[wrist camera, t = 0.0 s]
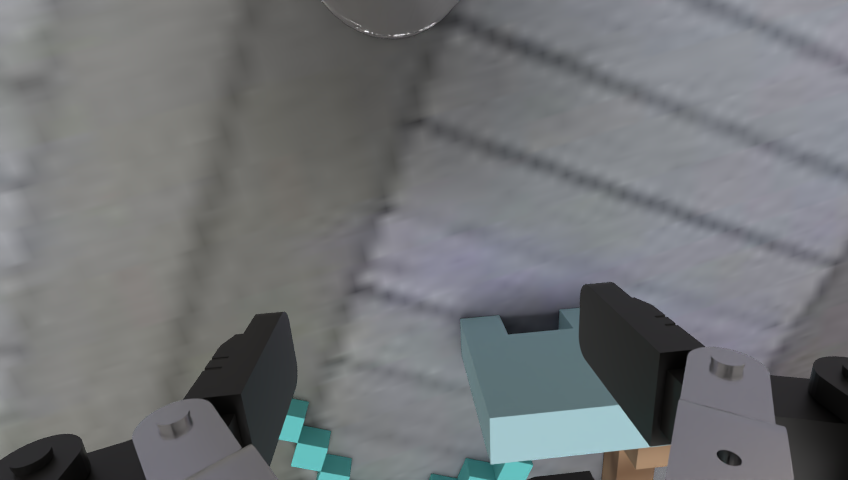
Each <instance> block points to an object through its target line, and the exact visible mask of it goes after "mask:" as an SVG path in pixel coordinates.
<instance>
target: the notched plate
mask: <svg viewBox="0 0 848 480" xmlns="http://www.w3.org/2000/svg"><path fill="white" fill-rule="evenodd" d="M579 315H580V308H571V309H560V310H559V330H551V331H540V332H530V333H519V334H509V335H508V333H507V331H506V329H505V327H504V325H503V323H502V320H501V318H500V316H499V315H496V316H485V317H474V318H464V319H460V328H461V352H462V358H463V362H464V366H465V370H466V373H467V377H468V381H469V385H470V388H471V392H472V396H473V400H474V404H475V407H476V411H477V415H478V419H479V423H480V426H481V430H482V434H483V438H484V441H485V445H486V449H487V453H488V457H489V460H490V464H500V463H509V462H519V461H528V460H537V459H546V458H555V457H565V456H574V455H583V454H592V453H601V452H611V451H620V450H629V449H638V448H647V447H650V446H649V445H648V443H647V442H646V441H645V439H644V438H643V437H642V435H641V434H640V433H639V431H638V430H637V429H636V427H635V426H634V425H633V423H632V422H631V421H630V419H629V418H628V417H627V415H626V414H625V413H624V411H623V410H622V409H621V407H620V406H619V405H618V403H617V402H616V400H615V399H614V398H613V396H612V395H611V394H610V392H609V391H608V390H607V388H606V387H605V386H604V384H603V383H602V382H601V380H600V379H599V378H598V376H597V375H596V374H595V372H594V371H593V370H592V368H591V367H590V366H589V364H588V363H587V362H586V360H585V359H584V357H583V355H582V352H581V349H580V345H579ZM662 446H666V445H662ZM653 447H657V446H653Z"/></svg>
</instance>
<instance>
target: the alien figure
mask: <svg viewBox="0 0 848 480" xmlns="http://www.w3.org/2000/svg"><path fill="white" fill-rule="evenodd" d="M308 403H309V402H307V401H302V400H297V399H292V401H291V404H290V407H289V410H288V413H287V416H286V419H285V422H284V425H283V428H282V431H281V434H280V437H279V439H280V440H285V441H290V442H296V443H297V445H296V448H295V452H294V456H293V460H292V464H291V466H293V467H298V468H304V469H309V470H315V471H318V474H317V478H316V480H349V478H350V470H351V461H352V458H347V457H341V456H336V455H331V454H326V453H327V450H328V445H329V440H330V434H331V431H328V430H323V429H318V428H313V427H308V426H303V423H304V419H305V415H306V411H307V407H308ZM532 466H533V463H532V461H531V460H528V461H519V462H509V463H500V464H490V463H489V462H484V461H479V460H474V459H469V458H466V459H465V462H464V464H463V466H462V469H461V471H460V473H459V475H458V478H452V477H446V476H441V475H436V474H431V476H430V479H429V480H526V478H527V476H528V474H529V472H530V470H531V468H532Z"/></svg>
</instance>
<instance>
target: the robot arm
mask: <svg viewBox="0 0 848 480" xmlns="http://www.w3.org/2000/svg"><path fill="white" fill-rule="evenodd" d="M322 1H323V3H324V4H325V5H326V6H327V7H328V9H329V10H330V11H331V12H332V13H333V14H334V15H335V16H337V17H338V18H339V19H340V20H341V21H343V22H344V23H345V24H346V25H348V26H350V27H352V28H354V29H355V30H357V31H359V32H361V33H364V34H367V35H371V36H374V37H378V38H390V39H398V38H404V37H409V36H414V35H416V34H418V33H421V32H423V31H425V30H428V29H430V28H431V27H432V26H434V25H435V24H436V23H438V22H439V21H441V20H442V19H443V18H444V17H445V16H446V15H447V14H448V13H449V12H450V10H451V9H452V8H453V7H454V6H455V5H456V4H457V3H458V2H459V1H460V0H322ZM579 345H580V349H581V352H582V355H583V357H584V359H585V360H586V362H587V363H588V364H589V366H590V367H591V368H592V370H593V371H594V372H595V374H596V375H597V376H598V378H599V379H600V380H601V382H602V383H603V384H604V386H605V387H606V388H607V390H608V391H609V392H610V394H611V395H612V396H613V398H614V399H615V400H616V402H617V403H618V405H619V406H620V407H621V409H622V410H623V411H624V413H625V414H626V415H627V417H628V418H629V419H630V421H631V422H632V423H633V425H634V426H635V427H636V429H637V430H638V431H639V433H640V434H641V435H642V437H643V438H644V439H645V441H646V442H647V443H648V445H649V446H650V447H653V446H662V445H671V447H670V453H669V459H668V465H667V471H666V477H665V480H848V358H847V357H836V356H835V357H823V358H819V359H817V360H816V361H815V362H814V364H813V368H812V372H811V377H810V379H805V378H794V377H783V376H772V375H770V374H769V371H768V369H767V368H766V367H765V366H764V365H763V364H762V363H761V362H759V361H758V360H756V359H754V358H753V357H751V356H748V355H746V354H744V353H741V352H738V351H735V350H731V349H726V348H720V347H705V346H704V345H702V344H701V343H700V342H699V341H697V340H696V339H695V338H694V337H692V336H691V335H690V334H688V333H687V332H686V331H685V330H683V329H682V328H681V327H680V326H678V325H675V323H674V322H673V321H672V320H671V319H669V318H668V317H665V315H664V314H663V313H662V312H660V311H659V310H658V309H657V308H655V307H654V306H653V305H651V304H648V303H646V302H644V301H641V300H639V299H637V298H632V297H630V296H629V295H628V294H627V293H625V292H624V291H623V290H622V289H621V288H619V287H618V286H617V285H616V284H615V283H613V282H607V283H596V284H585V285H583V286H582V289H581V293H580V315H579ZM296 384H297V362H296V357H295V351H294V345H293V340H292V334H291V329H290V323H289V318H288V315H287V313H286V312H277V313H266V314H256V315H255V316H254V318H253V319H252V321H251V323H250V324H249V326H248V327H247V329H246V330H245V332H244V334H236V335H235V336H233V337H232V338H230V339H229V340H228V341H226V342H225V343H224V344H222V345H221V346H220V347H219V349H218V350H217V351H216V353H215V354H214V356H213V357H212V360H210V362H209V363H208V364H207V366H206V367H205V371H203V372H202V373H201V375H200V376H199V377H198V379H197V380H196V382H195V383H194V385H193V386H192V387H191V389H190V390H189V392H188V393H187V395H186V396H185V398H184V399H183V400H181V401H177V402H174V403H171V404H168V405H166V406H164V407H162V408H159V409H158V410H156V411H154V412H153V413H151V414H150V415H148V416H147V417H146V418H145V419H143V420H142V421H141V422H140V423H139V424H138V426H137V427H136V428H135V430H134V432H133V436H132V440H129V441H126V442H123V443H120V444H116V445H113V446H110V447H106V448H103V449H100V450H96V451H93V452H90V453H86V450H85V447H84V445H83V442H82V440H81V438H80V437H78V436H76V435H73V434H60V435H54V436H50V437H46V438H43V439H40V440H37V441H35V442H32V443H30V444H27V445H25V446H23V447H21V448H19V449H17V450H16V451H14V452H12V453H10V454H9V455H7V456H6V457H4V458H3V459H2V460H0V480H278V478H277V477H276V475H275V474H274V473H273V471H272V470H271V469H270V464H271V461H272V458H273V455H274V452H275V449H276V446H277V443H278V440H279V437H280V434H281V431H282V428H283V425H284V422H285V419H286V416H287V413H288V410H289V407H290V404H291V401H292V398H293V394H294V391H295V388H296ZM528 480H594V479H593V477H592V475H591V473H590V471H583V472H575V473H566V474H557V475H548V476H539V477H533V478H530V479H528Z"/></svg>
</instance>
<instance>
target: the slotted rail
mask: <svg viewBox="0 0 848 480" xmlns="http://www.w3.org/2000/svg"><path fill="white" fill-rule="evenodd" d="M670 447H671V445H666V446H657V447H647V448H638V449H629V450H620V451H611V452H604V459H603V470H602V480H653V475H654V469H655V467H663V466H667V465H668V459H669V453H670Z"/></svg>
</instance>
